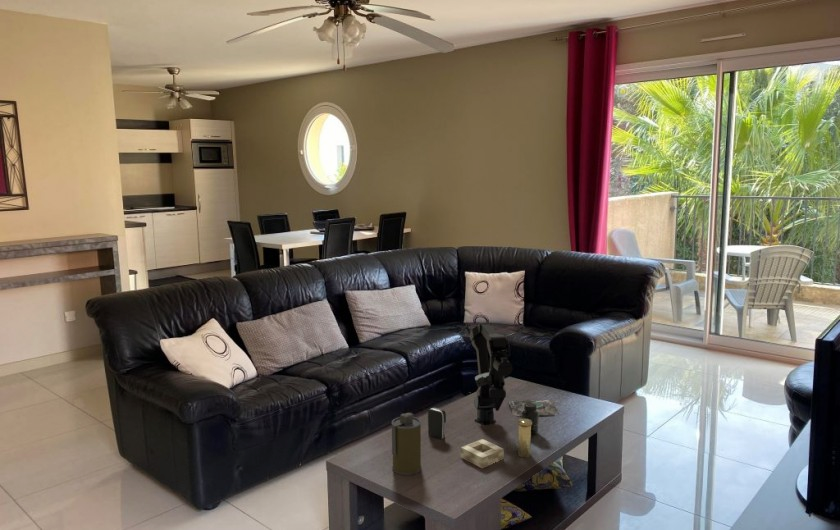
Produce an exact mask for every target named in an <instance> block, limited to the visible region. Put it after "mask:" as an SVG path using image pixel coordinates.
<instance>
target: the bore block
mask: <svg viewBox="0 0 840 530" xmlns="http://www.w3.org/2000/svg"><path fill="white" fill-rule="evenodd" d="M504 450H505V449H504V448H502V447H500V446H498V445H497V444H494V443H492V442H490V441H487V440H486V439H483V438H481V439H478V440H476V441H473V442H471V443H468V444H465V445H464V446H460V458H461V459H463V460H466V461H467V462H469V463H470V464H472V465H475V466H476V467H479V468H481V469H484V468H487V467H488V466H489V467H490V466H492V465H493V463H494V464H495V462H496V463H498V462H500V460H501V461H503V460H504V456H505V454H504ZM502 459H503V460H502Z"/></svg>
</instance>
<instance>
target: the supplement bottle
mask: <svg viewBox="0 0 840 530" xmlns="http://www.w3.org/2000/svg"><path fill="white" fill-rule="evenodd" d="M536 407H537V406H536V404H534V403H525V404H524V410H523V411H522V416H521V417H520V419H529V420H531V421H532V425H531V437H535V436H537V435H539V421H540V419H539V417H540V416H539V413H538V412H537V411H536V410H537V408H536Z"/></svg>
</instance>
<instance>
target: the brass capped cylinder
mask: <svg viewBox="0 0 840 530" xmlns="http://www.w3.org/2000/svg"><path fill="white" fill-rule="evenodd" d="M517 425H518V441H517V443H518V446H517V447H518V448H517V451H518V452H517V455H518V454H519V455H520V456H522V457H521V458H529V457H530V456H531V443H532V441H531V439H532V436H531V425H532V421H531V420H529V419H521V418H519V419H518V420H517ZM519 455H518V456H519ZM520 456H519V457H520Z"/></svg>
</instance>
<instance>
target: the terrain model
mask: <svg viewBox="0 0 840 530" xmlns="http://www.w3.org/2000/svg"><path fill="white" fill-rule="evenodd" d="M525 403H534V404H536V406H537V407H536V408H537V410H536V411H537V412H538V413H539V417H554V416H553V415H555V414H558V415H560V412H559V411H558V409H557V408H556V405H555V403H554V401H553V400H552V399H545V400H544V399H542V400H538V399H537V400H536V399H535V400H531V399H524V400H522V399H518V400H517V399H516V400H513V401H508V402H507V405H509V406H508V407H509V409H510V411H511V414H512V415H513V416H514V415H515V416H514V417H516V416H517V418H521V416H522V411H523V410H524V404H525Z"/></svg>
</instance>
